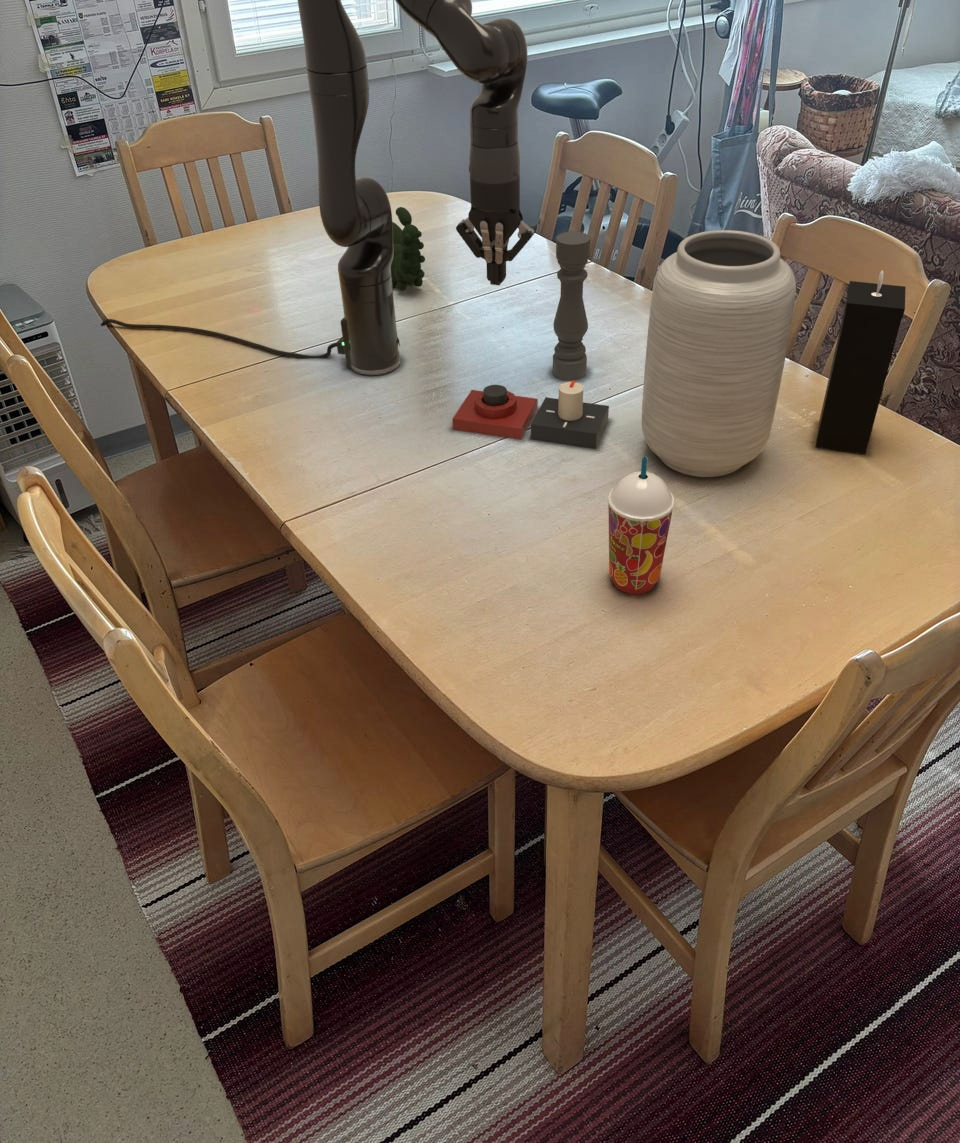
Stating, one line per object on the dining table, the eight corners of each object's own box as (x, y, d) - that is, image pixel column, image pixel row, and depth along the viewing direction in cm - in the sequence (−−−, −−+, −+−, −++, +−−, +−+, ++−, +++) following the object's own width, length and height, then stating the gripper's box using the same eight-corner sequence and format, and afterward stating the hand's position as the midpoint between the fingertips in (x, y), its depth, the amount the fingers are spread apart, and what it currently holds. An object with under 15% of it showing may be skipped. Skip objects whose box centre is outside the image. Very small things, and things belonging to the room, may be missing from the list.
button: (480, 405, 161) (479, 394, 160) (487, 393, 164) (487, 383, 163) (503, 408, 160) (502, 397, 159) (510, 396, 163) (510, 386, 162)
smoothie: (598, 564, 134) (605, 442, 121) (657, 559, 135) (670, 437, 122) (609, 604, 128) (617, 479, 115) (671, 598, 128) (686, 474, 115)
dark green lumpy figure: (437, 300, 206) (392, 251, 221) (435, 214, 192) (386, 168, 208) (397, 310, 202) (353, 260, 218) (391, 224, 189) (345, 176, 205)
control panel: (530, 439, 159) (530, 423, 157) (545, 412, 166) (545, 396, 164) (595, 449, 157) (596, 432, 154) (608, 421, 163) (609, 404, 161)
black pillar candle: (867, 430, 158) (911, 264, 140) (865, 455, 152) (911, 286, 134) (818, 423, 160) (854, 259, 142) (814, 448, 155) (851, 280, 136)
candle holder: (584, 382, 173) (589, 246, 157) (550, 380, 174) (552, 244, 158) (588, 365, 178) (593, 231, 162) (554, 363, 179) (557, 230, 163)
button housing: (453, 429, 163) (451, 409, 160) (472, 400, 170) (471, 380, 167) (521, 439, 159) (521, 419, 157) (537, 409, 167) (537, 389, 164)
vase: (688, 503, 144) (716, 290, 123) (613, 440, 158) (626, 239, 137) (793, 465, 151) (837, 256, 129) (712, 408, 165) (739, 211, 143)
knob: (579, 422, 157) (580, 393, 154) (555, 419, 158) (556, 390, 155) (584, 409, 160) (585, 381, 157) (561, 406, 161) (561, 378, 158)
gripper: (544, 168, 145) (542, 278, 157) (461, 161, 149) (465, 269, 160) (529, 185, 140) (528, 297, 151) (444, 177, 144) (450, 288, 155)
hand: (496, 283), depth 156 cm, fingers closed
